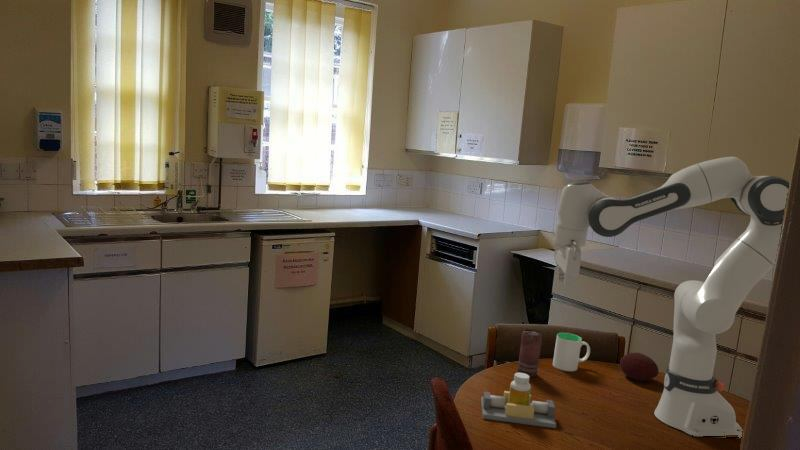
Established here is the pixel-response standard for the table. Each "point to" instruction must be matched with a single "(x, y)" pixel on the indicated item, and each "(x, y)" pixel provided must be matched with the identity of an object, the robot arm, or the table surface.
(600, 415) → the table surface
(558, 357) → the mug
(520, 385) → the supplement bottle
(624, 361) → the potato
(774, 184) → the robot arm
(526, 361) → the can
